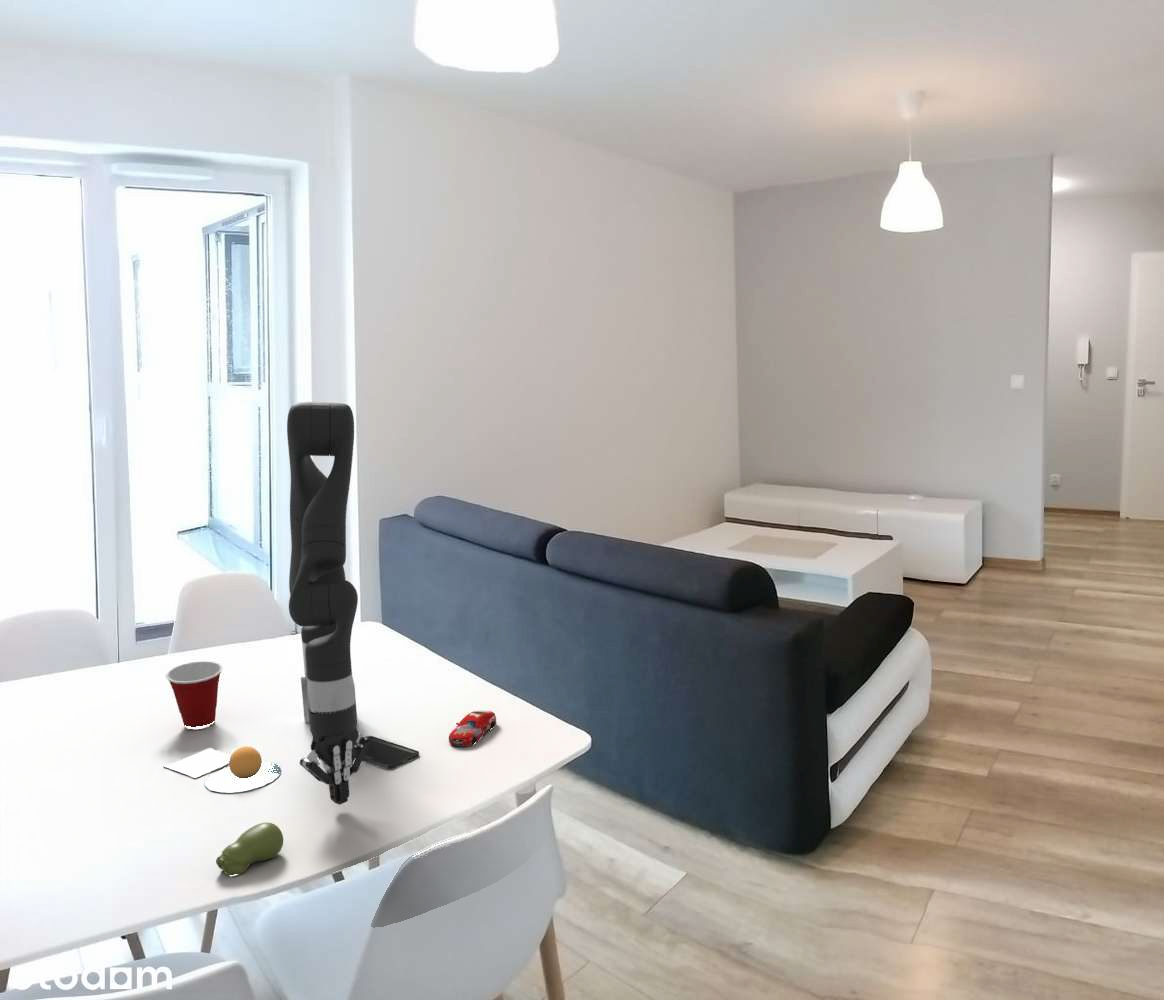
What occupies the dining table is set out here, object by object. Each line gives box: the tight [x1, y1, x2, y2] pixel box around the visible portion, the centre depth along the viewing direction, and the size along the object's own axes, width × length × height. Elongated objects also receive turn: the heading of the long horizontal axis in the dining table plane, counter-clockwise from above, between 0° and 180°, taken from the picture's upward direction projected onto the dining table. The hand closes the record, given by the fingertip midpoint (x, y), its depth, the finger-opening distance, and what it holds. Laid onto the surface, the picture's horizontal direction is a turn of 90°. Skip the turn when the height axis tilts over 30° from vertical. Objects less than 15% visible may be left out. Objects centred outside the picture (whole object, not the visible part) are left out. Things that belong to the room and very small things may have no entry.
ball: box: [228, 745, 262, 778], centre depth 178 cm, size 6×6×6 cm
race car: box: [448, 709, 497, 747], centre depth 194 cm, size 13×5×4 cm, turn 157°
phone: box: [362, 735, 420, 770], centre depth 186 cm, size 8×1×15 cm
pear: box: [215, 821, 284, 876], centre depth 148 cm, size 6×5×10 cm
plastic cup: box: [165, 660, 223, 727], centre depth 203 cm, size 11×11×12 cm
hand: (340, 802), depth 164 cm, fingers closed
